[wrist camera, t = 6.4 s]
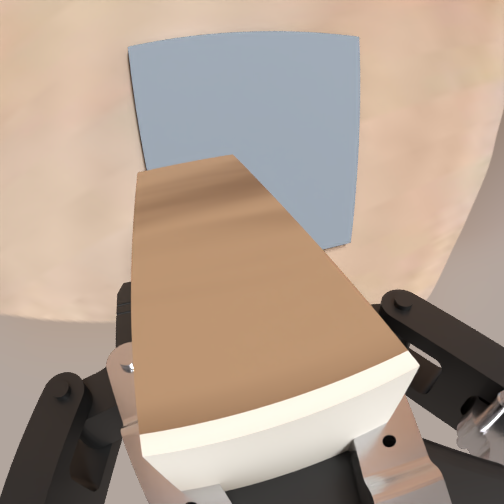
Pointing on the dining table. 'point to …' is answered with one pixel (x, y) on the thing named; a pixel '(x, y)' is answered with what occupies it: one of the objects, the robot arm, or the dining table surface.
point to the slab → (247, 334)
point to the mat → (260, 115)
